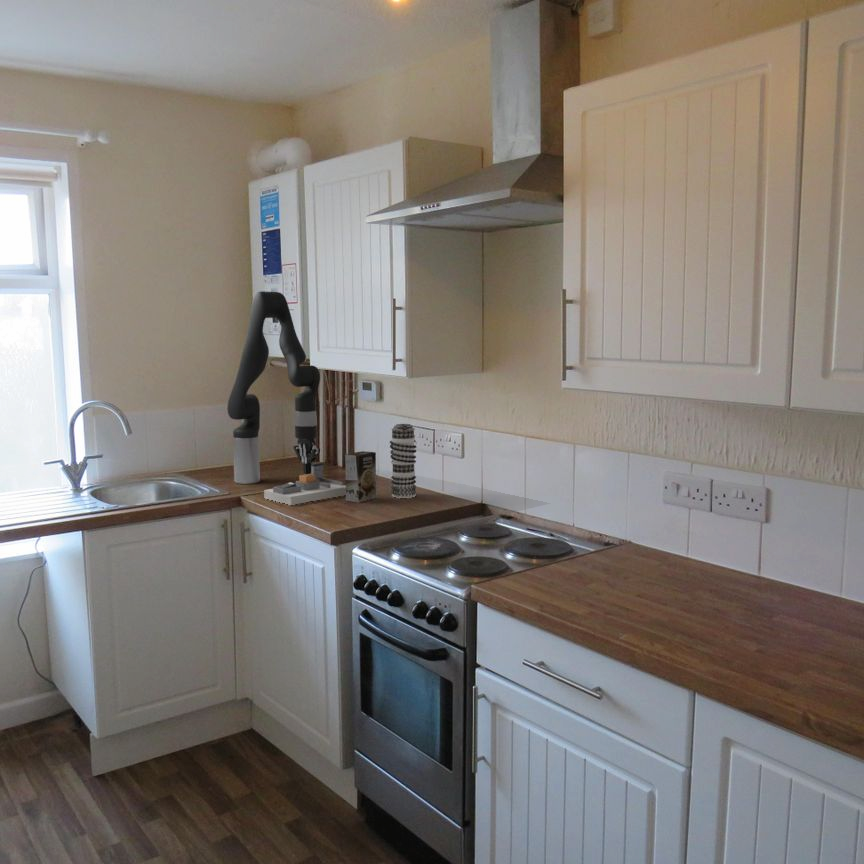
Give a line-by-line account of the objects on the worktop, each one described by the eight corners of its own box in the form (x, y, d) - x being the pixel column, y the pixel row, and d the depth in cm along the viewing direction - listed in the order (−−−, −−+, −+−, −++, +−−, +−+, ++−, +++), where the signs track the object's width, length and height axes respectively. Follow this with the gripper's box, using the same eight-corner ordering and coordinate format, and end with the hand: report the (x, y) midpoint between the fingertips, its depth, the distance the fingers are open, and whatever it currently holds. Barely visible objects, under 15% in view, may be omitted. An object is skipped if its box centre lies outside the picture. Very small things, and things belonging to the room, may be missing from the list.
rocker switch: (277, 490, 289) (277, 486, 289) (290, 485, 292) (289, 481, 292) (283, 491, 286) (283, 488, 286) (296, 486, 290) (295, 483, 289)
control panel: (264, 498, 293) (263, 483, 292) (323, 488, 310) (322, 473, 309) (291, 505, 281) (290, 489, 281) (350, 494, 299) (350, 479, 298)
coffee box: (359, 503, 285) (358, 455, 283) (345, 500, 289) (344, 453, 287) (377, 498, 292) (376, 451, 290) (363, 496, 296) (362, 450, 294)
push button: (299, 482, 295) (299, 475, 295) (308, 480, 298) (308, 473, 298) (306, 483, 292) (305, 476, 292) (315, 482, 295) (315, 475, 295)
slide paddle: (310, 482, 305) (310, 463, 304) (320, 480, 308) (320, 462, 307) (313, 483, 303) (313, 464, 302) (323, 481, 306) (323, 462, 305)
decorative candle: (388, 493, 299) (387, 423, 296) (415, 492, 301) (414, 422, 298) (392, 499, 290) (391, 426, 287) (418, 498, 292) (418, 425, 289)
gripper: (285, 423, 295) (287, 472, 297) (308, 426, 285) (309, 477, 287) (303, 421, 300) (305, 470, 302) (326, 424, 290) (327, 474, 292)
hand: (307, 473), depth 295 cm, fingers closed
